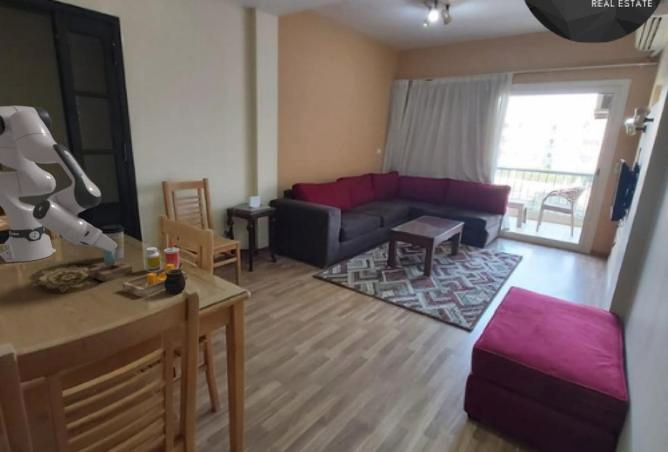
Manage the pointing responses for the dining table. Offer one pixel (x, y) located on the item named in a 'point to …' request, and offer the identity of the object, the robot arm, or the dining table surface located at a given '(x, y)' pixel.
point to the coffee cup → (115, 238)
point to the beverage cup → (172, 256)
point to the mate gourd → (174, 281)
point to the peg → (108, 258)
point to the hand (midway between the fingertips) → (110, 250)
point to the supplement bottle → (152, 259)
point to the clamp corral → (134, 284)
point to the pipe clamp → (153, 277)
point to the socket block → (110, 271)
